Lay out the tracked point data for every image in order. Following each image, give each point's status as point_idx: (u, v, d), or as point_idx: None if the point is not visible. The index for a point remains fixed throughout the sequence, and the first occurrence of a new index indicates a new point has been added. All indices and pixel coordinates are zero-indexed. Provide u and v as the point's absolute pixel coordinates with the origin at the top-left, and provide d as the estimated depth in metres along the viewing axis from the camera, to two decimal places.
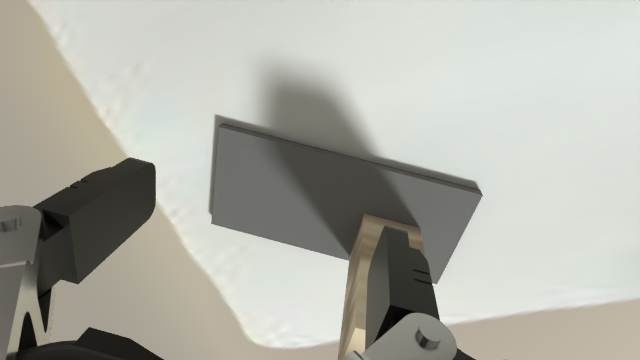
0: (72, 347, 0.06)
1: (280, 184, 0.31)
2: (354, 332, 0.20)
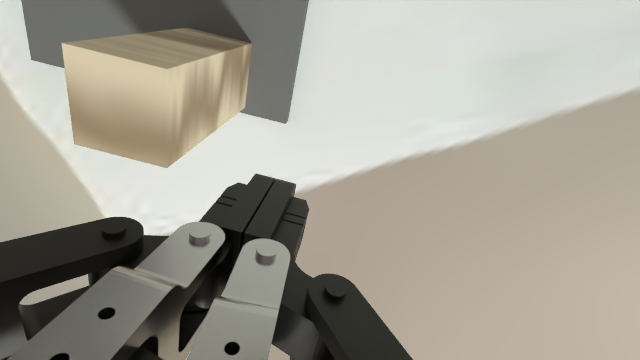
0: None
1: None
2: (64, 52, 0.16)
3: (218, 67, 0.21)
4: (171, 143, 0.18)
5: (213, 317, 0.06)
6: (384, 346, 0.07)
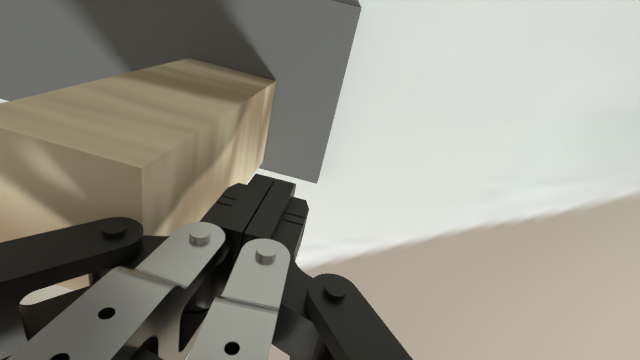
0: None
1: (57, 10, 0.19)
2: None
3: (231, 128, 0.14)
4: None
5: (213, 317, 0.06)
6: (383, 347, 0.07)
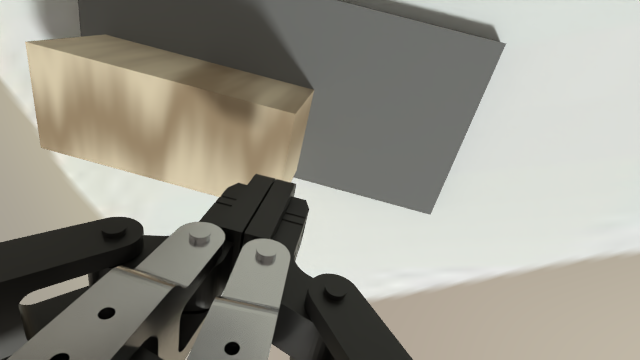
0: None
1: (182, 41, 0.19)
2: None
3: (155, 95, 0.15)
4: (45, 126, 0.17)
5: (213, 317, 0.06)
6: (384, 347, 0.07)
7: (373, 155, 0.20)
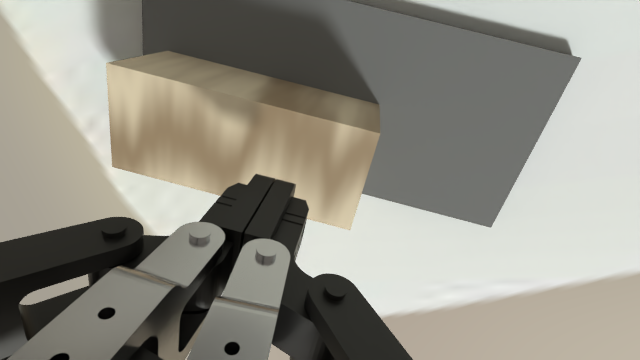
0: None
1: (246, 57, 0.19)
2: None
3: (236, 115, 0.15)
4: (118, 145, 0.17)
5: (213, 317, 0.06)
6: (383, 347, 0.07)
7: (436, 169, 0.20)
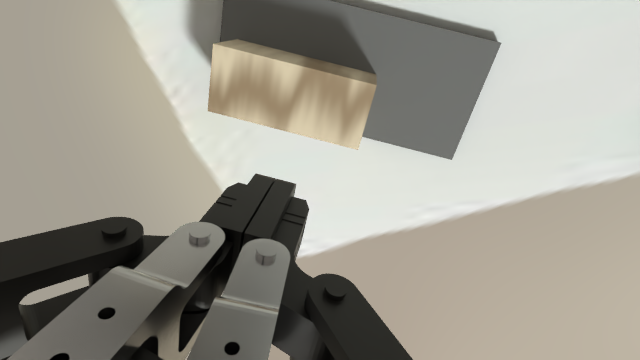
0: None
1: (289, 43, 0.29)
2: None
3: (290, 75, 0.25)
4: (214, 96, 0.27)
5: (213, 317, 0.06)
6: (384, 346, 0.07)
7: (414, 118, 0.30)
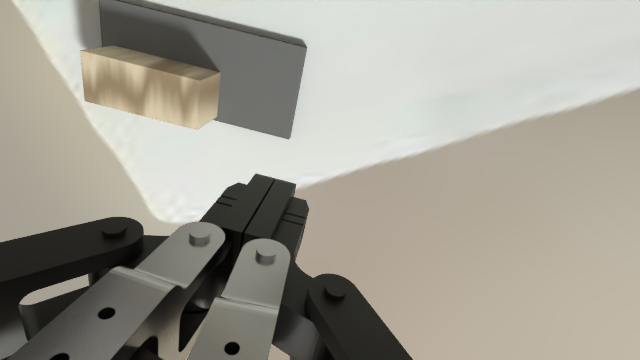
0: None
1: (153, 48, 0.38)
2: None
3: (138, 73, 0.34)
4: (87, 90, 0.36)
5: (213, 317, 0.06)
6: (384, 347, 0.07)
7: (254, 106, 0.39)
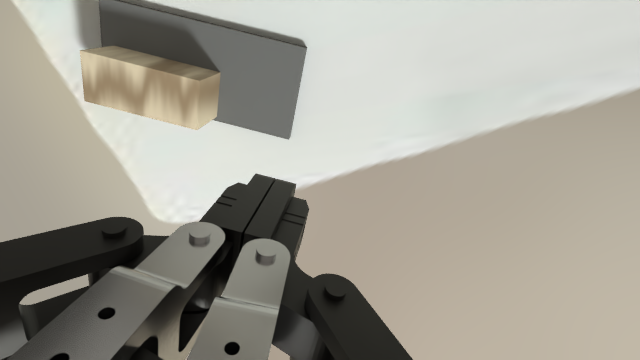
0: None
1: (153, 48, 0.38)
2: None
3: (138, 73, 0.34)
4: (87, 90, 0.36)
5: (213, 317, 0.06)
6: (384, 346, 0.07)
7: (254, 106, 0.39)
